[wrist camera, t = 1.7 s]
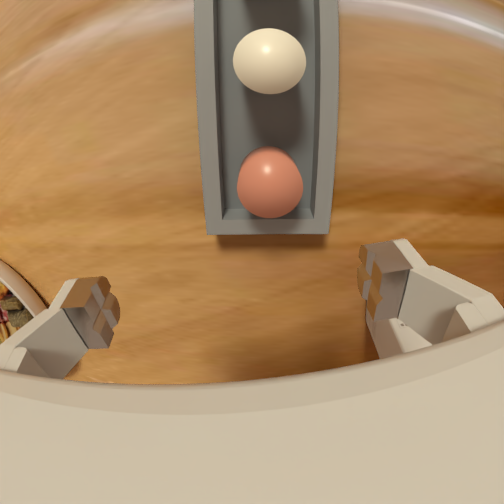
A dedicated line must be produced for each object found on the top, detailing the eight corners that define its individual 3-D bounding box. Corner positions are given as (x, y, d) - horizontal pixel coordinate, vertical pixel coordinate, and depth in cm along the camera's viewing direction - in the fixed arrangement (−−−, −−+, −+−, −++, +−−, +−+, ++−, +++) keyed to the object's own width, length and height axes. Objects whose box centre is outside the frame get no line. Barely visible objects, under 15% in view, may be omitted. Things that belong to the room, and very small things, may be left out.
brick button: (297, 146, 25) (304, 156, 22) (295, 200, 28) (301, 218, 25) (238, 146, 26) (235, 156, 22) (240, 200, 28) (238, 218, 25)
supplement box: (418, 308, 40) (457, 386, 27) (364, 321, 41) (393, 408, 28) (426, 258, 35) (481, 339, 23) (366, 271, 36) (407, 363, 24)
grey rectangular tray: (323, -61, 16) (330, -75, 13) (321, 217, 33) (328, 233, 29) (202, -62, 16) (195, -77, 13) (211, 218, 33) (207, 234, 30)
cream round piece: (298, 37, 20) (305, 29, 17) (298, 93, 23) (306, 95, 19) (235, 37, 20) (232, 29, 17) (237, 93, 23) (233, 94, 20)
